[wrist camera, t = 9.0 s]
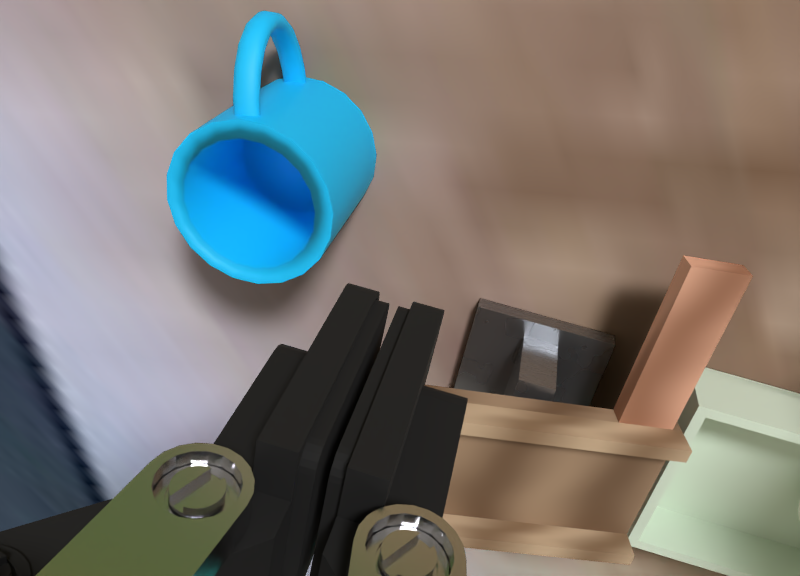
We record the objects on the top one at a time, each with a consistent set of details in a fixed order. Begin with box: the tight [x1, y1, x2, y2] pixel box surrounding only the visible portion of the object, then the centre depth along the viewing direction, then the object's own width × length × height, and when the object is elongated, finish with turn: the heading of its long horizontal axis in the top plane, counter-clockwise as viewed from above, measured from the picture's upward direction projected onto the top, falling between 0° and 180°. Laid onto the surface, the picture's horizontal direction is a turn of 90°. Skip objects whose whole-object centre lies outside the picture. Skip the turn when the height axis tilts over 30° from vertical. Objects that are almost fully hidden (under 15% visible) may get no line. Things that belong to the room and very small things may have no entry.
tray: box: [627, 367, 800, 576], centre depth 42 cm, size 13×11×4 cm
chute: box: [425, 256, 753, 565], centre depth 36 cm, size 16×18×4 cm
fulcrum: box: [454, 298, 615, 406], centre depth 43 cm, size 8×12×5 cm, turn 168°
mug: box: [167, 11, 376, 284], centre depth 36 cm, size 12×8×8 cm
